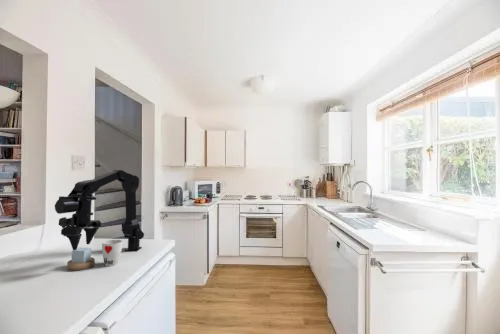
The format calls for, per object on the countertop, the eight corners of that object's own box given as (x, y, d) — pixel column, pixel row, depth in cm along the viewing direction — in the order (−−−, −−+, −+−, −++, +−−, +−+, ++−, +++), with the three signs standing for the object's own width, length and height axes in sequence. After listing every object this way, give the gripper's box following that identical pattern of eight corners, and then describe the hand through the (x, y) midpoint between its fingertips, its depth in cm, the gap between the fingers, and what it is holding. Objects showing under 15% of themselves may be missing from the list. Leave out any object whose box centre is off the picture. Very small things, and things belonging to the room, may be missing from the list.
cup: (97, 265, 116) (98, 242, 116) (114, 260, 123) (115, 238, 123) (108, 268, 112) (109, 245, 112) (125, 263, 119) (126, 241, 119)
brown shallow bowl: (76, 262, 118) (77, 256, 118) (99, 263, 118) (99, 257, 118) (61, 270, 108) (61, 264, 108) (85, 271, 108) (85, 265, 108)
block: (79, 258, 116) (79, 247, 116) (90, 259, 116) (91, 247, 116) (71, 262, 111) (72, 250, 111) (83, 262, 111) (84, 251, 111)
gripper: (78, 207, 123) (76, 241, 122) (48, 213, 104) (46, 253, 104) (102, 208, 123) (100, 241, 123) (76, 214, 104) (74, 253, 104)
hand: (81, 247), depth 113 cm, fingers open, 9 cm apart
